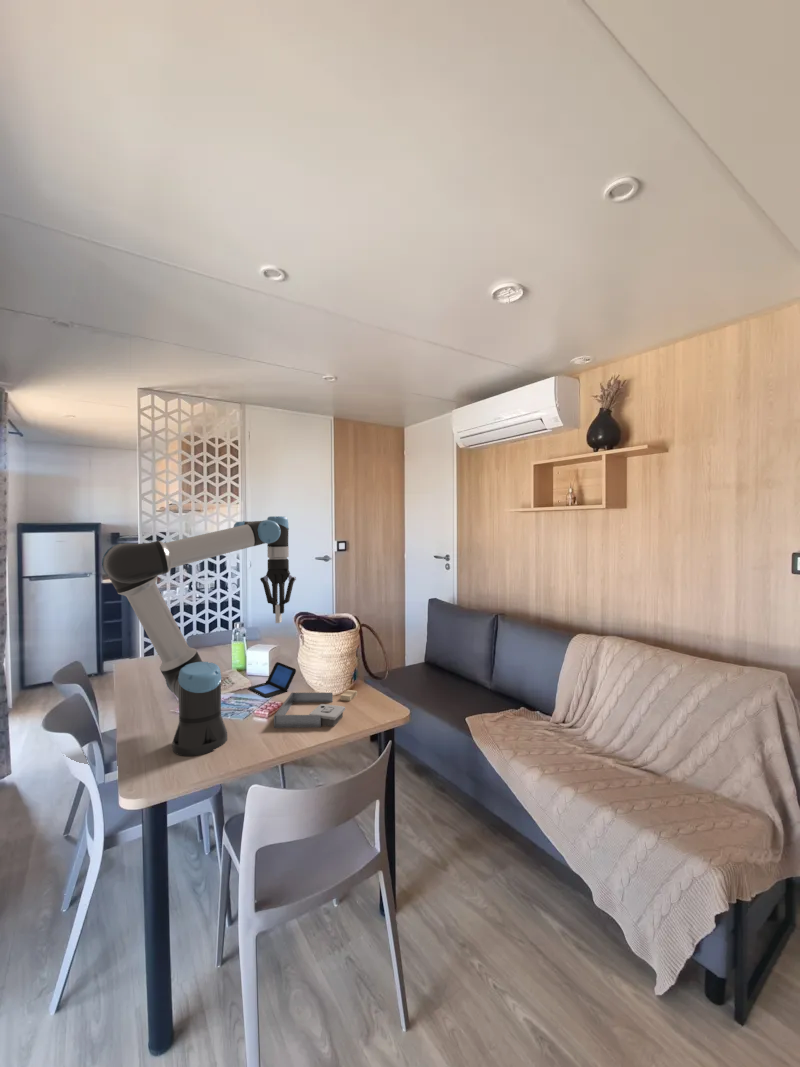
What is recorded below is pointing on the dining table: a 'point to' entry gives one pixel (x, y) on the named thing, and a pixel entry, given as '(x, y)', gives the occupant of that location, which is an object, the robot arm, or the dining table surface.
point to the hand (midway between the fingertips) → (278, 622)
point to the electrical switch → (329, 714)
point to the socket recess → (300, 720)
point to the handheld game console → (276, 681)
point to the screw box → (348, 695)
